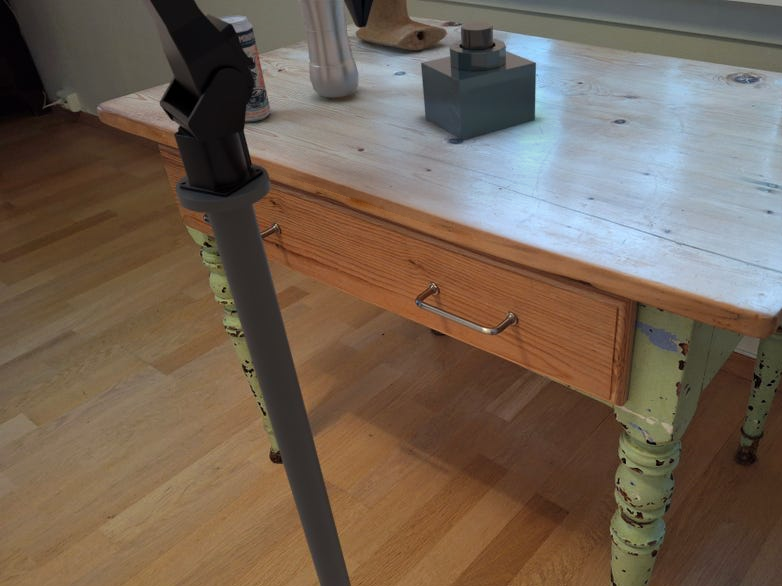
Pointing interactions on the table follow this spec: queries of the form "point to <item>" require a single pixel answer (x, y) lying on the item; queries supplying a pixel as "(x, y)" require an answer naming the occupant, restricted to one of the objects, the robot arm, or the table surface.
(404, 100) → the table surface
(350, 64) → the plastic bottle
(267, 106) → the beer can
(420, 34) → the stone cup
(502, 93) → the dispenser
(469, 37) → the grey push button
